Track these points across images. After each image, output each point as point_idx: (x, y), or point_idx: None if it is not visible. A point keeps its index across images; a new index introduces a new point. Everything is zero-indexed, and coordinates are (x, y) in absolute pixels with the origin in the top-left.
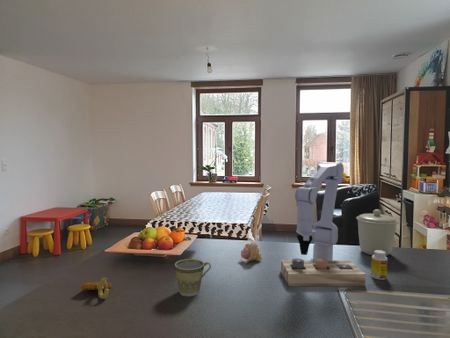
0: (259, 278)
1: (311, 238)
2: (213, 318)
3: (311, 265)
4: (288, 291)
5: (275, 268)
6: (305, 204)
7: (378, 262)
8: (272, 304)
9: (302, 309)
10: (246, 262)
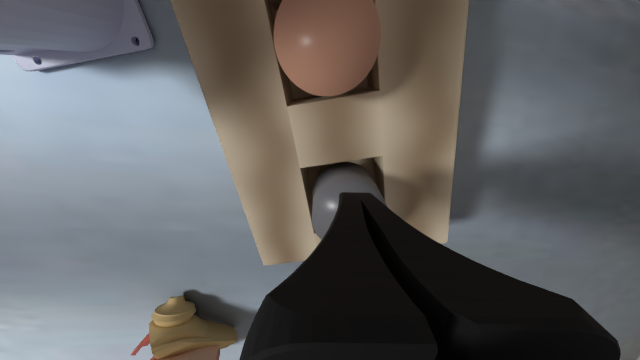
0: None
1: (616, 352)
2: None
3: (308, 116)
4: (468, 212)
5: (245, 246)
6: None
7: None
8: (553, 258)
9: (620, 177)
10: (235, 332)
